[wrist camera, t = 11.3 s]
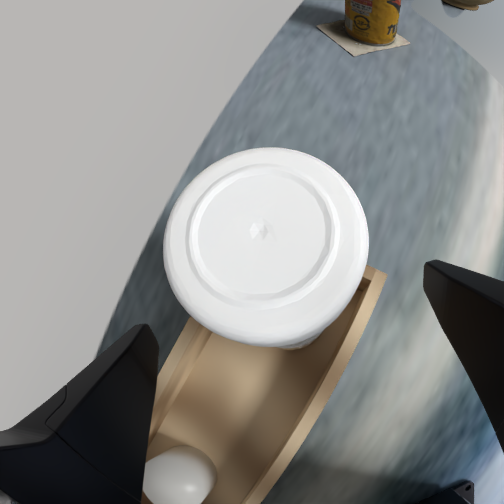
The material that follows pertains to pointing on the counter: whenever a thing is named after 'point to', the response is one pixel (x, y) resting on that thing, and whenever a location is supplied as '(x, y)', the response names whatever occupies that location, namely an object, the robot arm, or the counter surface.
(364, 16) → the condiment
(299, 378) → the wooden tray
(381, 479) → the counter surface
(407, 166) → the counter surface
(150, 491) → the white rounded lump
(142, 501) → the walnut cube
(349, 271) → the sprinkles bottle
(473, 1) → the decorative pitcher
